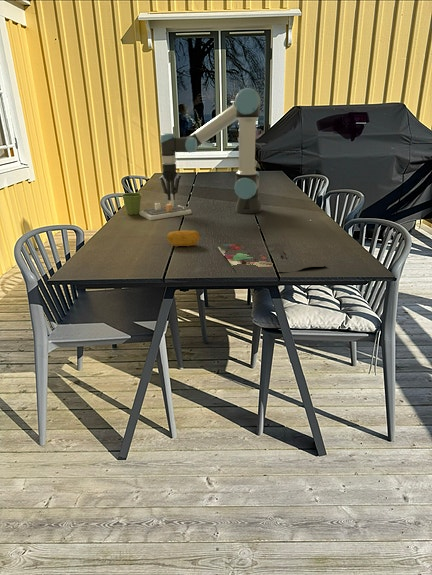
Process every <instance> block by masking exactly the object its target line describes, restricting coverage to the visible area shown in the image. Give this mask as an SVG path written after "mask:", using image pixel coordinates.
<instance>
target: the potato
mask: <svg viewBox="0 0 432 575" xmlns="http://www.w3.org/2000/svg"><path fill="white" fill-rule="evenodd" d="M166 239H167V242H168V243H169V244H171V245H172V246H174V247H178V246H187V247H191V246H195V245H197V243H198V242H199V240H200V234H199V232H198V231H196V230H183V229H182V230H173V231H170V232H168V233H167V235H166Z"/></svg>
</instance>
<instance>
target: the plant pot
mask: <svg viewBox="0 0 432 575" xmlns="http://www.w3.org/2000/svg"><path fill="white" fill-rule="evenodd" d="M142 195H143V194H142V193H140V192H127V193H123V194H121V195H120V196H121V197H122V199H123V202H124V206H125V210H126V214H127V215H129V216H133V215H135V216H136V215H139V211H141V201H142Z"/></svg>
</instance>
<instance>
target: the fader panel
mask: <svg viewBox="0 0 432 575" xmlns="http://www.w3.org/2000/svg"><path fill="white" fill-rule="evenodd" d="M190 214H192V210H191V209H190V208H189V206H186V205H185V206H182V205H180V204H176V205H175V204H174V206H172V211H166V206H162V207H161V203H160V202H154V208H149V209H148V208H147V209H143V210H140V211H139V214H138V215H140V216H141V217H143V218H144V219H147V220H148V221H154V220H160V219H167V218H172V217H178V216H185V215H190Z"/></svg>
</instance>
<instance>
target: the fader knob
mask: <svg viewBox="0 0 432 575" xmlns="http://www.w3.org/2000/svg"><path fill="white" fill-rule="evenodd" d="M165 207H166V211H172V205H171V204H169V203H165Z"/></svg>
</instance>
